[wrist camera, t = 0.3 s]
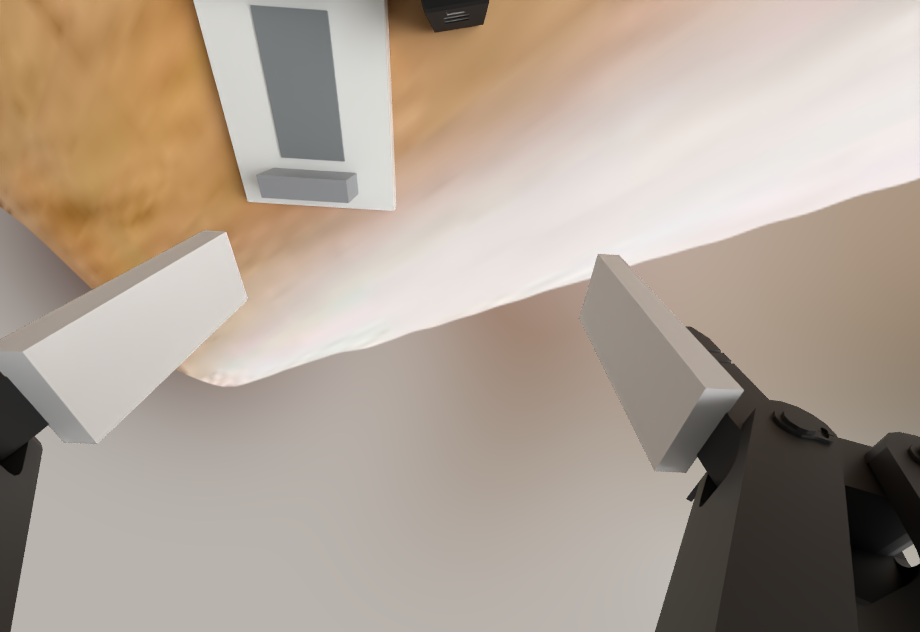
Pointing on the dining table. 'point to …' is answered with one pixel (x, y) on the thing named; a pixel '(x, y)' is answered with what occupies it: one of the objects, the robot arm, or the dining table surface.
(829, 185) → the dining table surface
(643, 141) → the dining table surface
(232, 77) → the mounting board
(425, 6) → the electronic device
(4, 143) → the dining table surface
